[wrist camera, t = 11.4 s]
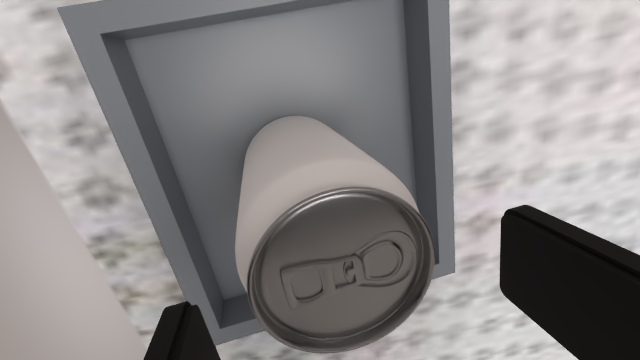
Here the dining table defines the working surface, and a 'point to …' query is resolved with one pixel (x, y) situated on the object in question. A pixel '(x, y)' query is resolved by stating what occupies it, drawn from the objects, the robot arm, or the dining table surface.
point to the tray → (264, 112)
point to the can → (327, 239)
